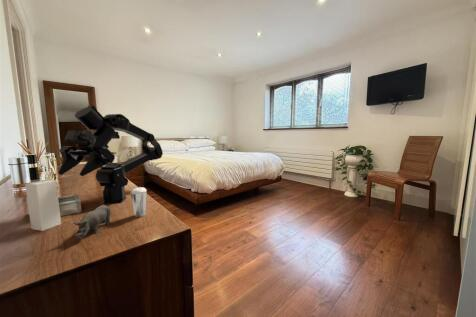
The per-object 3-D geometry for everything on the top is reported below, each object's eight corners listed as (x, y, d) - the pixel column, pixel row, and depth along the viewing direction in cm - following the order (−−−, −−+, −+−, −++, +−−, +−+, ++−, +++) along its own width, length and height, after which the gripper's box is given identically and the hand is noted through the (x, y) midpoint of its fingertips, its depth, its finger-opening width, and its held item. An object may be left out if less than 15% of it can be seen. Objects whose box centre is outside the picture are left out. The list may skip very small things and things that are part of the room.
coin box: (78, 204, 74) (77, 194, 74) (81, 211, 67) (80, 200, 66) (41, 211, 67) (40, 200, 67) (39, 220, 60) (38, 207, 60)
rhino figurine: (65, 246, 46) (62, 222, 45) (101, 221, 59) (99, 202, 59) (83, 246, 46) (81, 221, 45) (115, 220, 60) (113, 201, 59)
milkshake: (133, 212, 66) (131, 183, 64) (150, 212, 66) (148, 183, 65) (127, 218, 61) (124, 187, 60) (144, 217, 61) (142, 186, 60)
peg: (50, 222, 59) (45, 179, 57) (61, 223, 58) (56, 180, 56) (31, 228, 55) (25, 183, 53) (42, 230, 53) (36, 184, 52)
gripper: (62, 123, 67) (24, 158, 58) (104, 121, 62) (69, 159, 53) (87, 144, 76) (57, 178, 67) (126, 145, 71) (99, 181, 62)
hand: (70, 174), depth 62 cm, fingers open, 9 cm apart
